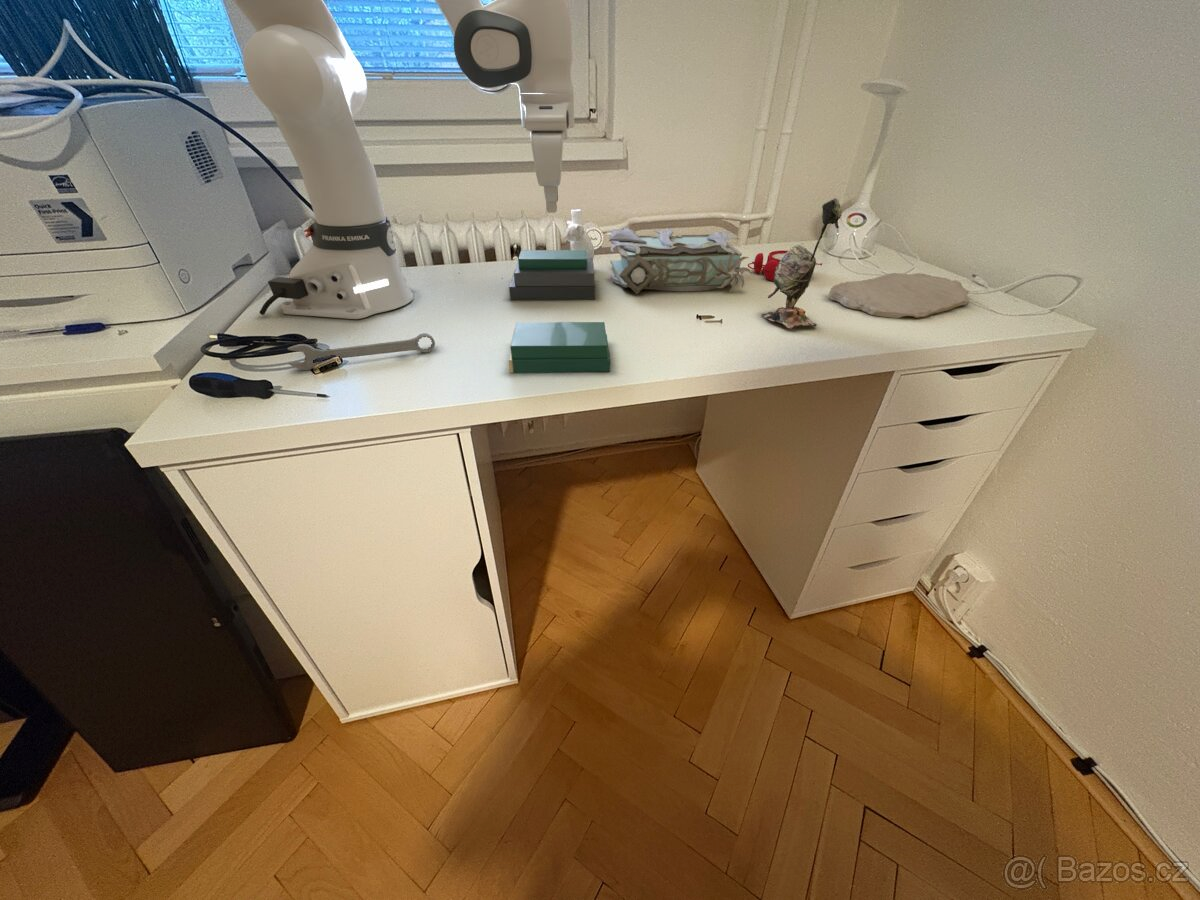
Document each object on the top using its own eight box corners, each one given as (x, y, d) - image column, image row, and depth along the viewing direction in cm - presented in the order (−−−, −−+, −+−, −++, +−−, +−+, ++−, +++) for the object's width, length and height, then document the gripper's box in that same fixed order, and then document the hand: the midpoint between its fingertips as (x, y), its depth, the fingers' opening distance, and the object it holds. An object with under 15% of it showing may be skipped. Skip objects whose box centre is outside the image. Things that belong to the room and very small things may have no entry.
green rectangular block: (510, 372, 69) (507, 347, 67) (515, 346, 76) (513, 321, 74) (609, 371, 70) (610, 346, 67) (606, 345, 77) (606, 321, 74)
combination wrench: (432, 328, 73) (282, 344, 67) (433, 331, 72) (281, 347, 66) (436, 351, 75) (291, 368, 69) (437, 354, 74) (290, 372, 68)
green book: (519, 269, 92) (518, 259, 91) (521, 260, 97) (520, 250, 96) (587, 270, 92) (586, 259, 91) (586, 260, 97) (586, 250, 96)
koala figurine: (561, 263, 113) (559, 207, 105) (589, 262, 114) (590, 206, 106) (566, 274, 106) (564, 215, 99) (596, 273, 107) (596, 214, 100)
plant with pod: (793, 307, 92) (824, 190, 80) (821, 331, 83) (860, 202, 71) (752, 308, 91) (777, 190, 79) (775, 332, 82) (807, 202, 70)
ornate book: (615, 302, 96) (761, 293, 98) (615, 252, 90) (770, 244, 92) (602, 269, 113) (725, 262, 116) (601, 225, 108) (731, 218, 110)
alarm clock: (829, 262, 103) (771, 249, 98) (815, 291, 107) (759, 280, 102) (801, 250, 111) (747, 237, 106) (789, 277, 115) (736, 266, 110)
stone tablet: (818, 296, 97) (821, 284, 95) (918, 278, 107) (922, 267, 106) (888, 327, 85) (893, 314, 84) (993, 303, 95) (999, 291, 94)
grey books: (510, 299, 93) (507, 273, 90) (515, 281, 102) (513, 257, 99) (595, 299, 94) (595, 273, 91) (593, 281, 102) (593, 257, 99)
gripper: (532, 112, 88) (538, 196, 97) (524, 118, 72) (532, 218, 80) (567, 112, 88) (570, 196, 97) (566, 118, 72) (569, 218, 80)
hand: (552, 206), depth 88 cm, fingers open, 8 cm apart
